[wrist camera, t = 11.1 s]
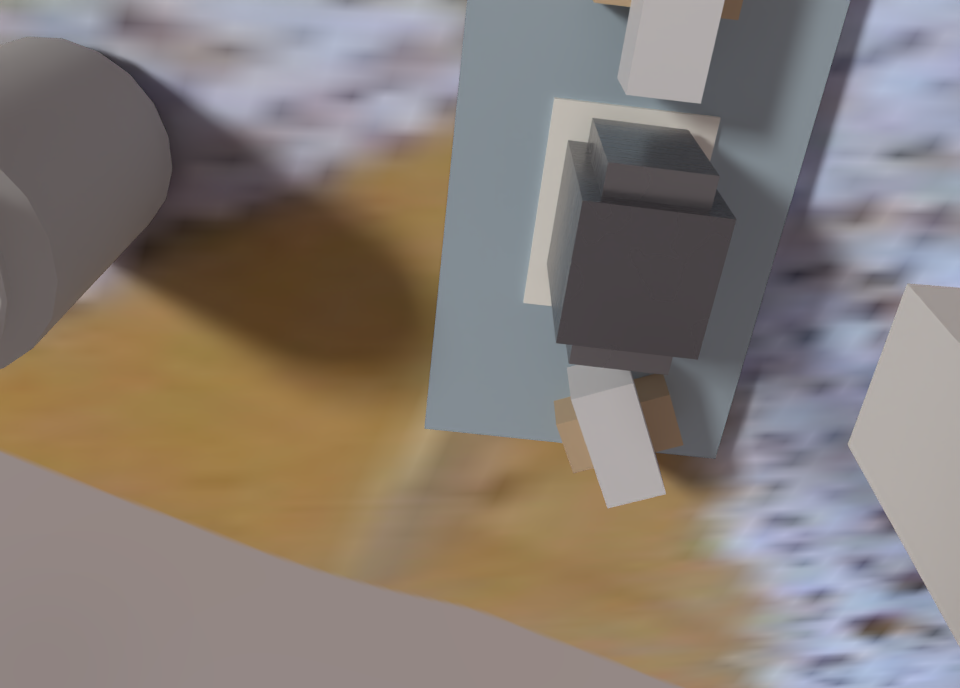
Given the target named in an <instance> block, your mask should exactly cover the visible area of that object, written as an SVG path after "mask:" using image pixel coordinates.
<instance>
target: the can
mask: <svg viewBox="0 0 960 688" xmlns="http://www.w3.org/2000/svg"><path fill="white" fill-rule="evenodd" d="M171 174H172V161H171V153H170V145H169V137H168V134H167V132H166V130H165V128H164V125H163V123H162V121H161V119H160V116H159V114H158V112H157V110H156V107H155V105H154V103H153V102H152V101H151V100H150V98H149V97H148V96H147V95H146V94H145V92H144V91H143V90H142V89H141V87H140V86H139V85H138V84H137V83H136V81H135V80H134V79H133V78H132V76H131V75H130V74H129V73H127V72H126V71H124V70H123V69H122V68H120V67H119V66H117V65H116V64H115V63H113V62H112V61H110V60H109V59H108V58H106V57H105V56H104V55H102V54H101V53H99V52H98V51H95V50H92V49H90V48H87V47H84V46H81V45H79V44H76V43H73V42H71V41H68V40H65V39H61V38H42V37H24V38H21V39H18V40H15V41H11V42H8V43H5V44H1V45H0V369H2V368H4V367H6V366H7V365H9V364H10V363H12V362H13V361H15V360H16V359H18V358H19V357H20V356H22V355H23V354H25V353H26V352H28V351H29V350H31V349H32V348H33V347H34V346H35V345H36V344H37V343H38V342H39V341H40V340H41V339H42V338H43V337H44V336H45V335H46V334H47V333H48V331H49V330H50V329H51V328H52V327H53V326H54V325H55V324H56V323H57V322H58V321H59V320H60V319H61V318H62V316H63V315H64V314H65V313H66V312H67V311H68V310H69V309H70V308H71V307H72V306H73V305H74V304H75V303H76V302H77V300H78V299H79V298H80V297H81V296H82V295H83V294H84V293H85V292H86V291H87V290H88V289H89V288H90V287H91V285H92V284H93V283H94V282H95V281H96V280H97V279H98V278H99V277H100V276H101V275H102V274H103V273H104V272H105V271H106V269H107V268H108V267H109V266H110V265H111V264H112V263H113V262H114V261H115V260H116V259H117V258H118V257H119V256H120V254H121V253H122V252H123V251H124V250H125V249H126V248H127V247H128V246H129V245H130V244H131V243H132V242H133V241H134V240H135V238H136V237H137V236H138V235H139V234H140V233H141V232H142V231H143V230H144V229H145V228H146V227H147V226H148V225H149V223H150V222H151V221H152V219H153V218H154V216H155V215H156V213H157V212H158V210H159V209H160V207H161V206H162V204H163V203H164V201H165V200H166V197H167V192H168V188H169V183H170V178H171Z"/></svg>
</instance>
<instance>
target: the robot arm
mask: <svg viewBox="0 0 960 688" xmlns="http://www.w3.org/2000/svg"><path fill="white" fill-rule="evenodd" d="M848 446H849V448H850V450H851V452H852V453H853V455H854V457H855V459H856V461H857V462H858V464H859V466H860V468H861V470H862V471H863V473H864V475H865V477H866V479H867V480H868V482H869V484H870V486H871V488H872V489H873V491H874V493H875V495H876V497H877V498H878V500H879V502H880V504H881V506H882V508H883V509H884V511H885V513H886V515H887V517H888V518H889V520H890V522H891V524H892V526H893V527H894V529H895V531H896V533H897V535H898V536H899V538H900V540H901V542H902V544H903V545H904V547H905V549H906V551H907V553H908V554H909V556H910V558H911V560H912V562H913V563H914V565H915V567H916V569H917V571H918V572H919V574H920V576H921V578H922V580H923V581H924V583H925V585H926V587H927V589H928V591H929V592H930V594H931V596H932V598H933V600H934V601H935V603H936V605H937V607H938V609H939V610H940V612H941V614H942V616H943V618H944V619H945V621H946V623H947V625H948V627H949V628H950V630H951V632H952V634H953V636H954V637H955V639H956V641H957V643H958V645H959V646H960V288H955V287H943V286H930V285H918V284H907V286H906V289H905V291H904V294H903V297H902V299H901V302H900V305H899V308H898V310H897V313H896V316H895V318H894V321H893V324H892V326H891V329H890V332H889V335H888V337H887V340H886V343H885V345H884V348H883V351H882V353H881V356H880V359H879V362H878V364H877V367H876V370H875V372H874V375H873V378H872V380H871V383H870V386H869V389H868V391H867V394H866V397H865V399H864V402H863V405H862V407H861V410H860V413H859V416H858V418H857V421H856V424H855V426H854V429H853V432H852V434H851V437H850V440H849V443H848Z"/></svg>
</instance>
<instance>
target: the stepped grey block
mask: <svg viewBox="0 0 960 688" xmlns="http://www.w3.org/2000/svg"><path fill="white" fill-rule="evenodd" d="M719 178H720V176H719V174H718V173H717V171H716V170H715V168H714V167H713V165H712V164H711V162H710V161H709V159H708V158H707V156H706V155H705V154H704V152H703V151H702V149H701V148H700V146H699V145H698V143H697V142H696V140H695V139H694V137H693V136H692V134H691V133H690V131H689V130H686V129H678V128H670V127H662V126H654V125H646V124H638V123H630V122H623V121H615V120H607V119H599V118H592V123H591V128H590V134H589V139H588V143H587V142H579V141H571V140H568V143H567V149H566V155H565V160H564V166H563V172H562V178H561V184H560V190H559V195H558V201H557V207H556V213H555V219H554V225H553V230H552V236H551V242H550V248H549V254H548V260H547V270H548V279H549V287H550V296H551V305H552V313H553V322H554V330H555V339H556V343H558V344H566V348H567V356H568V363H569V364H574V365H583V366H592V367H601V368H609V369H618V370H627V371H635V372H644V373H653V374H662V375H668V374H669V370H670V366H671V362H672V359H673V357H679V358H687V359H696V360H698V357H699V354H700V350H701V346H702V343H703V339H704V336H705V332H706V328H707V325H708V321H709V317H710V314H711V310H712V307H713V303H714V299H715V296H716V292H717V288H718V285H719V281H720V278H721V274H722V270H723V267H724V263H725V259H726V256H727V252H728V249H729V245H730V241H731V238H732V234H733V230H734V227H735V223H736V220H737V219H736V218H735V216H734V215H733V213H732V212H731V210H730V209H729V207H728V205H727V204H726V202H725V201H724V199H723V198H722V196H721V195H720V193H719V192H718V190H717V185H718V181H719Z"/></svg>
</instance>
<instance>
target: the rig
mask: <svg viewBox="0 0 960 688" xmlns="http://www.w3.org/2000/svg"><path fill="white" fill-rule="evenodd" d="M849 3H850V0H467V8H466V18H465V28H464V38H463V48H462V58H461V68H460V78H459V88H458V98H457V108H456V118H455V128H454V138H453V148H452V158H451V168H450V178H449V189H448V199H447V209H446V219H445V229H444V239H443V249H442V259H441V269H440V279H439V289H438V299H437V309H436V319H435V329H434V339H433V349H432V359H431V369H430V379H429V389H428V399H427V409H426V419H425V429H434V430H444V431H453V432H463V433H473V434H482V435H492V436H501V437H511V438H521V439H530V440H540V441H550V442H559V443H563V446H564V448H565V451H566V454H567V457H568V460H569V463H570V465H571V468H572V471H573V473H576V472H580V471H584V470H588V469H592V468H594V469H595V472H596V475H597V478H598V481H599V484H600V487H601V490H602V493H603V496H604V499H605V502H606V505H607V508H611V507H615V506H619V505H623V504H627V503H631V502H635V501H639V500H643V499H648V498H652V497H656V496H660V495H664V494H666V492H665V488H664V485H663V481H662V477H661V473H660V469H659V465H658V462H657V458H656V454H655V452H656V453H665V454H675V455H684V456H694V457H704V458H713V459H715V458H716V454H717V451H718V448H719V444H720V441H721V437H722V434H723V431H724V427H725V424H726V420H727V417H728V414H729V410H730V407H731V404H732V400H733V397H734V393H735V390H736V387H737V383H738V380H739V376H740V373H741V370H742V366H743V363H744V359H745V356H746V353H747V349H748V346H749V342H750V339H751V336H752V332H753V329H754V326H755V322H756V319H757V315H758V312H759V309H760V305H761V302H762V298H763V295H764V292H765V288H766V285H767V281H768V278H769V275H770V271H771V268H772V264H773V261H774V258H775V254H776V251H777V247H778V244H779V241H780V237H781V234H782V231H783V227H784V224H785V220H786V217H787V214H788V210H789V207H790V203H791V200H792V197H793V193H794V190H795V186H796V183H797V180H798V176H799V173H800V169H801V166H802V163H803V159H804V156H805V153H806V149H807V146H808V142H809V139H810V136H811V132H812V129H813V125H814V122H815V119H816V115H817V112H818V108H819V105H820V102H821V98H822V95H823V91H824V88H825V85H826V81H827V78H828V74H829V71H830V68H831V64H832V61H833V58H834V54H835V51H836V47H837V44H838V41H839V37H840V34H841V30H842V27H843V24H844V20H845V17H846V13H847V10H848V7H849ZM592 118H599V119H607V120H615V121H623V122H630V123H638V124H646V125H654V126H662V127H670V128H678V129H686V130H689V131H690V133H691V134H692V136H693V137H694V139H695V140H696V142H697V143H698V145H699V146H700V148H701V149H702V151H703V152H704V154H705V155H706V156H707V158H708V159H709V161H710V162H711V164H712V165H713V167H714V168H715V170H716V171H717V173H718V174H719V176H720V178H719V181H718V185H717V190H718V192H719V193H720V195H721V196H722V198H723V199H724V201H725V202H726V204H727V205H728V207H729V209H730V210H731V212H732V213H733V215H734V216H735V218H736V219H737V220H736V223H735V227H734V230H733V234H732V238H731V241H730V245H729V249H728V252H727V256H726V259H725V263H724V267H723V270H722V274H721V278H720V281H719V285H718V288H717V292H716V296H715V299H714V303H713V307H712V310H711V314H710V317H709V321H708V325H707V328H706V332H705V336H704V339H703V343H702V346H701V350H700V354H699V357H698V360H696V359H687V358H679V357H673V359H672V362H671V366H670V370H669V374H668V375H662V374H653V373H644V372H635V371H627V370H618V369H609V368H601V367H592V366H583V365H574V364H569V363H568V356H567V348H566V344H558V343H556V339H555V330H554V322H553V313H552V305H551V296H550V287H549V279H548V270H547V260H548V254H549V248H550V242H551V236H552V230H553V225H554V219H555V213H556V207H557V201H558V195H559V190H560V184H561V178H562V172H563V166H564V160H565V155H566V149H567V143H568V140H571V141H579V142H587V143H588V139H589V134H590V128H591V123H592Z"/></svg>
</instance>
